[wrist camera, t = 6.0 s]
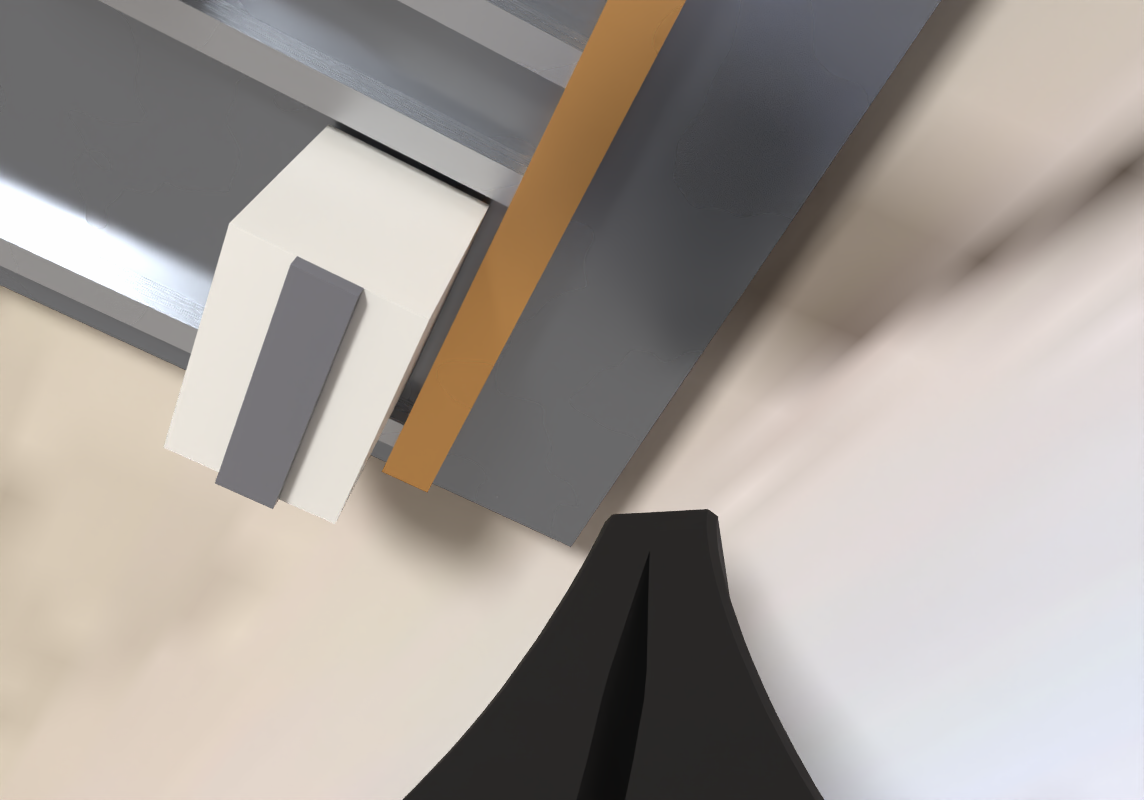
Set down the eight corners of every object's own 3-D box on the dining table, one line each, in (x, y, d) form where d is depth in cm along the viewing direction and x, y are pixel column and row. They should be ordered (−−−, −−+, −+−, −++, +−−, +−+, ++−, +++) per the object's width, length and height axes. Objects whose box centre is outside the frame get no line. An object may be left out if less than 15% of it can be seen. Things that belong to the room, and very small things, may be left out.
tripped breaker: (489, 205, 14) (425, 328, 11) (403, 391, 16) (329, 534, 13) (329, 123, 14) (221, 230, 11) (261, 323, 16) (156, 457, 13)
